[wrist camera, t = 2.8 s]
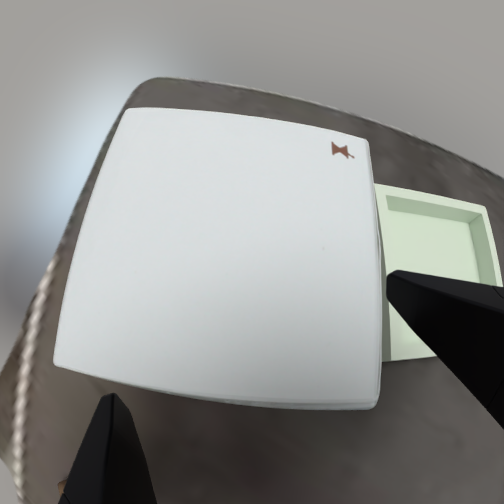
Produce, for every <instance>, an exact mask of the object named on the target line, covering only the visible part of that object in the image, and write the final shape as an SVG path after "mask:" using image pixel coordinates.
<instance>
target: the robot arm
mask: <svg viewBox="0 0 504 504" xmlns="http://www.w3.org/2000/svg"><path fill="white" fill-rule="evenodd" d="M386 297H387V300H388V301H389V302H390V304H391V305H392V306H393V307H394V309H395V310H396V311H397V312H398V313H399V315H400V316H401V317H402V318H403V320H404V321H405V322H406V323H407V325H408V326H409V327H410V328H411V329H412V331H413V332H414V333H415V334H416V335H417V336H418V337H419V338H420V339H421V340H422V341H423V342H424V343H425V344H426V345H427V346H428V347H429V348H430V349H431V350H432V351H433V352H434V353H435V355H436V356H437V357H438V358H439V359H440V360H441V361H442V362H443V363H444V364H445V365H446V366H447V367H448V368H449V369H450V370H451V371H452V372H453V373H454V375H455V376H456V377H457V378H458V379H459V380H460V381H461V382H462V383H463V384H464V385H465V386H466V387H467V389H468V390H469V391H470V392H471V393H472V394H473V395H474V396H475V397H476V398H477V400H478V401H479V402H480V403H481V404H482V405H483V406H484V407H485V408H486V410H487V411H488V412H489V413H490V414H491V415H492V417H493V418H494V419H495V420H496V421H497V422H498V423H499V425H500V426H501V427H502V428H503V429H504V287H500V286H494V285H492V286H491V285H488V284H482V283H476V282H470V281H464V280H458V279H452V278H446V277H440V276H434V275H428V274H422V273H416V272H410V271H404V270H395V271H393V272H391V273H389V274H388V275H387V277H386ZM63 492H64V493H62V494H61V497H60V500H59V503H58V504H157V502H156V498H155V495H154V491H153V487H152V483H151V479H150V475H149V471H148V467H147V463H146V459H145V456H144V453H143V450H142V447H141V444H140V441H139V438H138V435H137V431H136V428H135V425H134V422H133V418H132V415H131V413H130V411H129V409H128V408H127V406H126V405H125V404H124V403H123V402H122V400H121V399H120V398H119V397H118V395H117V394H115V393H110V394H107V395H104V396H102V397H101V399H100V401H99V404H98V406H97V408H96V410H95V413H94V415H93V417H92V420H91V422H90V424H89V427H88V429H87V431H86V434H85V436H84V438H83V441H82V443H81V446H80V448H79V450H78V453H77V455H76V458H75V460H74V463H73V465H72V468H71V471H70V473H69V476H68V478H67V481H66V484H65V486H64V489H63Z"/></svg>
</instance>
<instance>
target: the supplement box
mask: <svg viewBox="0 0 504 504" xmlns="http://www.w3.org/2000/svg"><path fill="white" fill-rule="evenodd" d="M381 360H382V287H381V248H380V236H379V230H378V220H377V209H376V200H375V191H374V182H373V174H372V167H371V160H370V151H369V144H368V141H367V140H366V139H362V138H358V137H355V136H351V135H348V134H344V133H341V132H337V131H332V130H328V129H323V128H319V127H314V126H309V125H303V124H298V123H292V122H286V121H280V120H274V119H268V118H261V117H253V116H245V115H237V114H229V113H220V112H210V111H198V110H183V109H167V108H129V109H127V110H126V111H125V113H124V115H123V117H122V119H121V121H120V123H119V126H118V128H117V131H116V133H115V135H114V137H113V140H112V142H111V145H110V147H109V150H108V152H107V155H106V157H105V160H104V162H103V165H102V167H101V170H100V172H99V175H98V178H97V181H96V183H95V186H94V189H93V192H92V195H91V198H90V201H89V204H88V207H87V210H86V213H85V216H84V220H83V223H82V226H81V230H80V233H79V237H78V240H77V244H76V248H75V251H74V255H73V259H72V263H71V267H70V271H69V275H68V280H67V284H66V288H65V293H64V298H63V303H62V308H61V313H60V319H59V325H58V331H57V337H56V344H55V350H54V357H53V362H54V364H55V366H58V367H62V368H66V369H69V370H72V371H76V372H79V373H82V374H86V375H89V376H93V377H96V378H100V379H104V380H108V381H112V382H116V383H120V384H124V385H128V386H133V387H137V388H142V389H147V390H152V391H156V392H161V393H167V394H172V395H177V396H183V397H189V398H195V399H201V400H208V401H215V402H222V403H230V404H238V405H247V406H257V407H268V408H282V409H302V410H368V409H372V408H373V407H375V405H376V403H377V401H378V398H379V393H380V378H381Z"/></svg>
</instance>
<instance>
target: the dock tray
mask: <svg viewBox="0 0 504 504" xmlns="http://www.w3.org/2000/svg"><path fill="white" fill-rule="evenodd" d="M374 191H375V200H376V209H377V220H378V230H379V236H380V248H381V287H382V360H381V362H387V361H399V360H410V359H419V358H428V357H436V355H435V353H434V352H433V351H432V350H431V349H430V348H429V347H428V346H427V345H426V344H425V343H424V342H423V341H422V340H421V339H420V338H419V337H418V336H417V335H416V334H415V333H414V332H413V331H412V329H411V328H410V327H409V326H408V325H407V323H406V322H405V321H404V320H403V318H402V317H401V316H400V315H399V313H398V312H397V311H396V310H395V309H394V307H393V306H392V305H391V304H390V302H389V301H388V300H387V297H386V277H387V275H388V274H389V273H391V272H393V271H395V270H404V271H410V272H416V273H422V274H428V275H434V276H440V277H446V278H452V279H458V280H464V281H470V282H476V283H482V284H488V285H491V286H492V285H494V286H500V287H503V285H502V279H501V273H500V268H499V262H498V257H497V252H496V248H495V243H494V239H493V234H492V230H491V226H490V222H489V219H488V215H487V211H486V208H485V206H481V205H476V204H472V203H468V202H464V201H460V200H455V199H451V198H446V197H442V196H437V195H433V194H428V193H423V192H418V191H413V190H408V189H402V188H397V187H391V186H386V185H380V184H374Z"/></svg>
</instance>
